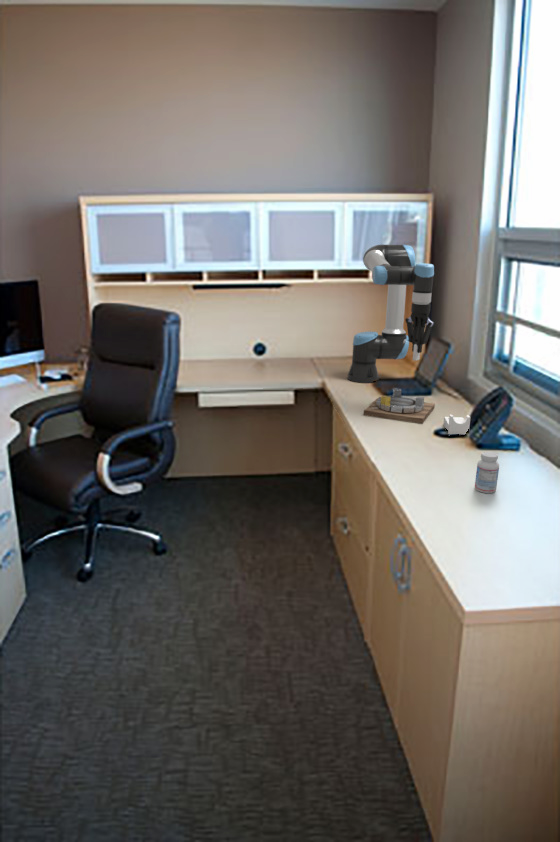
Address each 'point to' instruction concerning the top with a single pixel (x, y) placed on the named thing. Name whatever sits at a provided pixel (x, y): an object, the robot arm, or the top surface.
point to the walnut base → (410, 417)
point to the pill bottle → (487, 473)
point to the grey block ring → (385, 405)
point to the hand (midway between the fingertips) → (416, 359)
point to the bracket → (457, 424)
